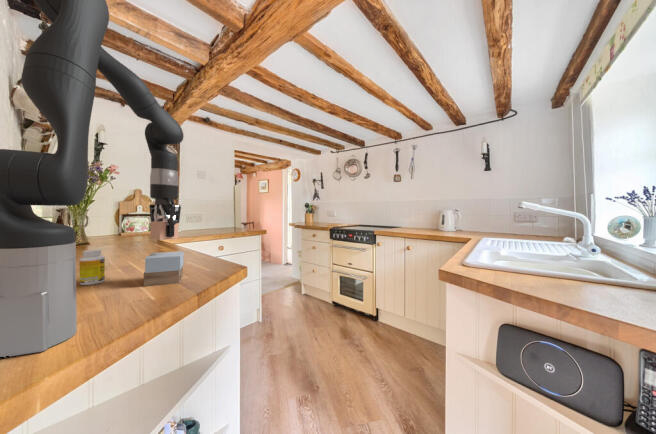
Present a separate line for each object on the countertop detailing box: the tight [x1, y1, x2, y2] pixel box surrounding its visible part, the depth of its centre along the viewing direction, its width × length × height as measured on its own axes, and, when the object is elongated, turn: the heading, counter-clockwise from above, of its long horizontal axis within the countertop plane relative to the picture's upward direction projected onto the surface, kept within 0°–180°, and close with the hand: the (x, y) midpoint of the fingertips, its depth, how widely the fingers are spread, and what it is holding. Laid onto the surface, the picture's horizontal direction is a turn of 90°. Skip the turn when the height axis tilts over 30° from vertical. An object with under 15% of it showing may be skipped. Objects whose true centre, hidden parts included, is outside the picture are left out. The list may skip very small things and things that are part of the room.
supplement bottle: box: [78, 249, 106, 286], centre depth 72 cm, size 6×6×10 cm
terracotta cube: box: [150, 220, 179, 241], centre depth 75 cm, size 6×6×6 cm
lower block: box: [143, 265, 184, 288], centre depth 76 cm, size 9×9×4 cm
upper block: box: [144, 251, 185, 273], centre depth 76 cm, size 9×9×4 cm
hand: (164, 236), depth 76 cm, fingers closed on terracotta cube, 5 cm apart
